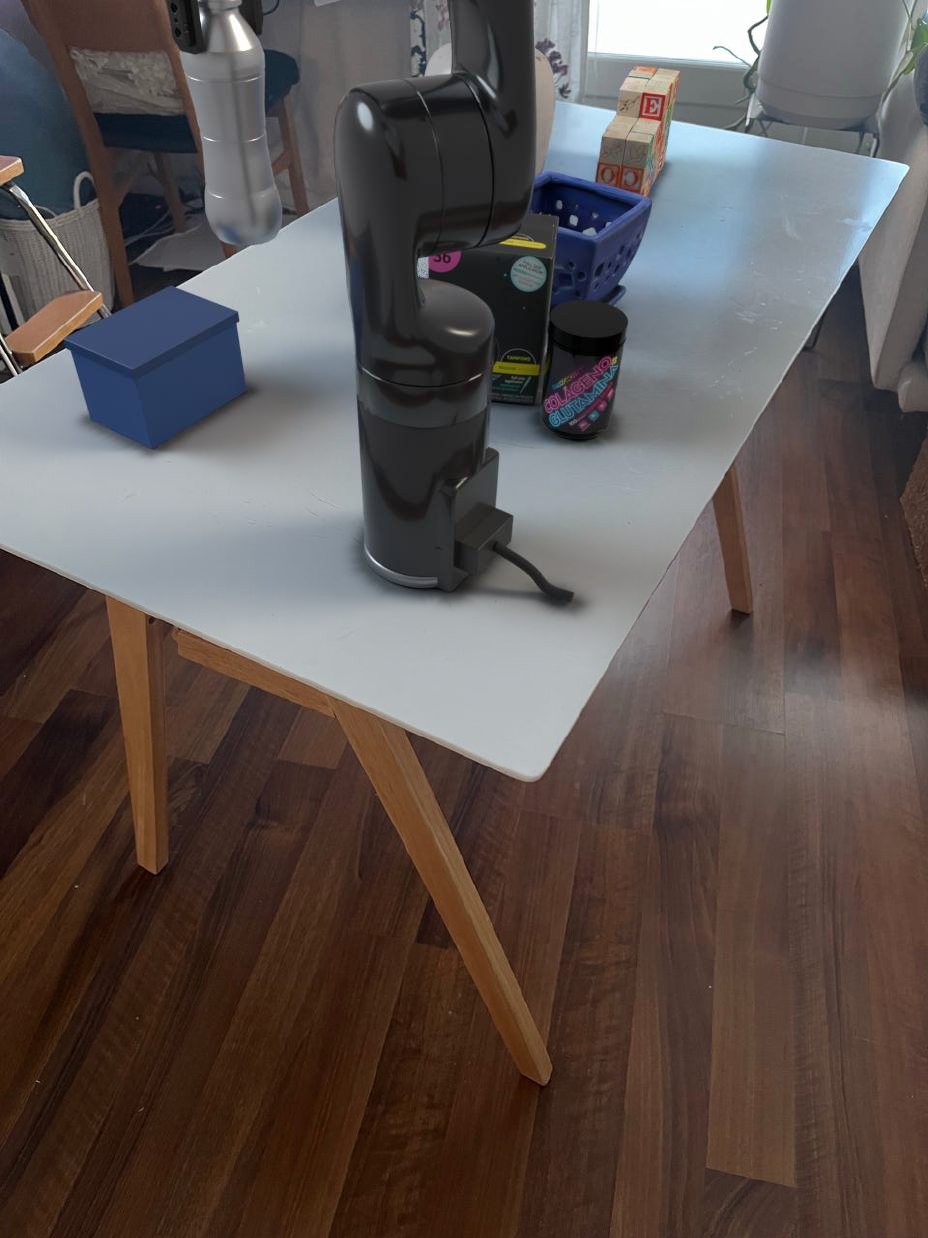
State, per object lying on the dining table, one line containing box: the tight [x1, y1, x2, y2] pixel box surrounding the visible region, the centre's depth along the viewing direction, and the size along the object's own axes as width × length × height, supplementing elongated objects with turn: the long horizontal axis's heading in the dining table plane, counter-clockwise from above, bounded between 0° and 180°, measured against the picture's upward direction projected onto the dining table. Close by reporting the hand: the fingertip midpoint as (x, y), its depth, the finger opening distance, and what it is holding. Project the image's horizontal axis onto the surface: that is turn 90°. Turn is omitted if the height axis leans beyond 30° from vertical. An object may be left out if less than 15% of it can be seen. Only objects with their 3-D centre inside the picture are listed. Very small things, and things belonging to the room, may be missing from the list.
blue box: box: [63, 285, 248, 450], centre depth 84 cm, size 8×12×8 cm
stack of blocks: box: [594, 65, 681, 197], centre depth 125 cm, size 21×6×12 cm, turn 162°
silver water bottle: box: [179, 0, 283, 247], centre depth 77 cm, size 6×7×20 cm
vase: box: [424, 41, 557, 177], centre depth 111 cm, size 16×16×23 cm
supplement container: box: [539, 300, 629, 441], centre depth 83 cm, size 7×7×10 cm
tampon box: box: [427, 213, 559, 406], centre depth 87 cm, size 11×9×15 cm
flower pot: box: [528, 170, 653, 331], centre depth 98 cm, size 13×13×12 cm
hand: (221, 42), depth 73 cm, fingers closed on silver water bottle, 6 cm apart
